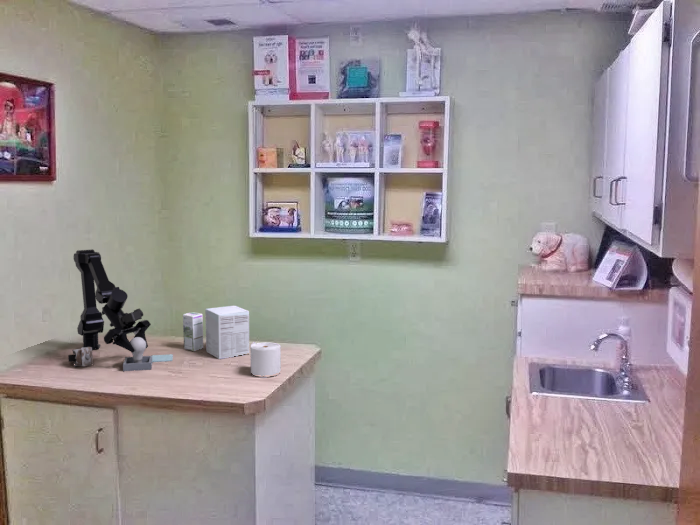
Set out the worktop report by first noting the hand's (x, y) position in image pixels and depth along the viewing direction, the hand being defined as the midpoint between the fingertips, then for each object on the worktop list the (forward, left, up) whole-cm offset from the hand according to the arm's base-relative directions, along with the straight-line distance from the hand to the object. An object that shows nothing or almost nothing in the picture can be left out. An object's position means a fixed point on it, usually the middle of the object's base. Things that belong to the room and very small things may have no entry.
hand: (140, 349), depth 245 cm
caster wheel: (-8, -22, -7) cm, 25 cm away
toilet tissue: (+16, +43, -7) cm, 46 cm away
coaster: (-10, +7, -7) cm, 14 cm away
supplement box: (-13, +32, -7) cm, 35 cm away
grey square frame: (-1, -1, -7) cm, 7 cm away
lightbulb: (-1, -1, -7) cm, 7 cm away
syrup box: (-22, +19, -7) cm, 30 cm away
